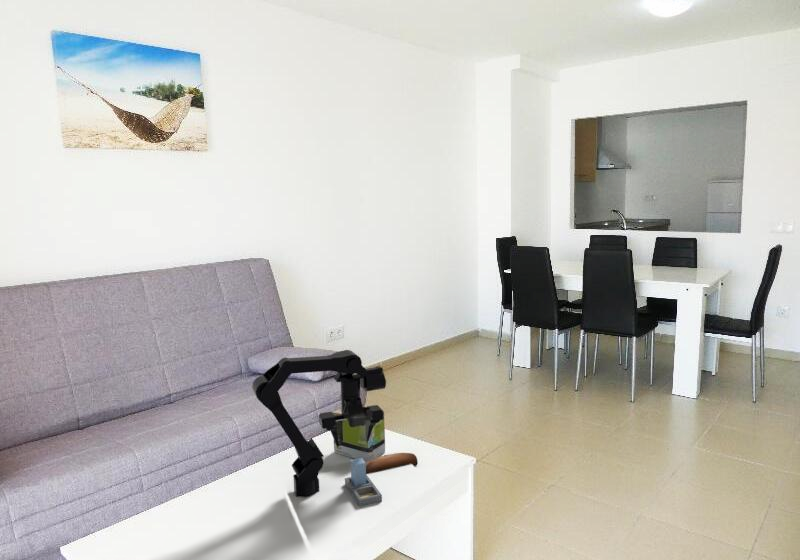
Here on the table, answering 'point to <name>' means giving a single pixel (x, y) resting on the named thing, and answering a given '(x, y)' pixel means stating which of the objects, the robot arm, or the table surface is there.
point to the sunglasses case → (390, 462)
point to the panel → (364, 492)
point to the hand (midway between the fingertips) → (352, 443)
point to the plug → (358, 472)
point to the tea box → (359, 440)
